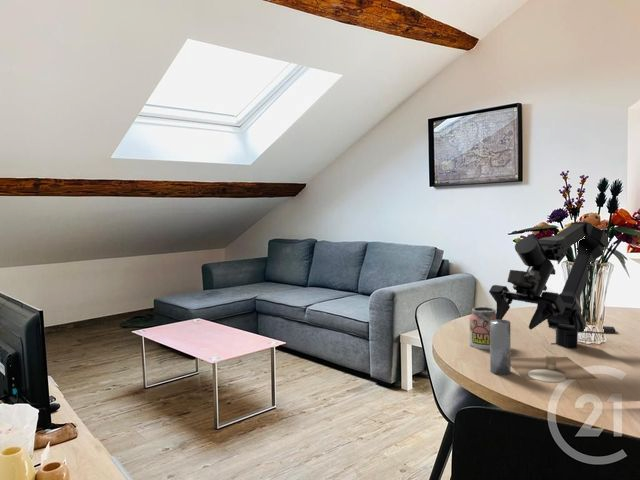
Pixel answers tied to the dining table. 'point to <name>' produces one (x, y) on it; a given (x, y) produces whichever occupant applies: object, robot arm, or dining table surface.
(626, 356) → the dining table surface
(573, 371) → the plate
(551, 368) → the dowel
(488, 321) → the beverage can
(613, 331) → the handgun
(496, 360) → the cylinder
